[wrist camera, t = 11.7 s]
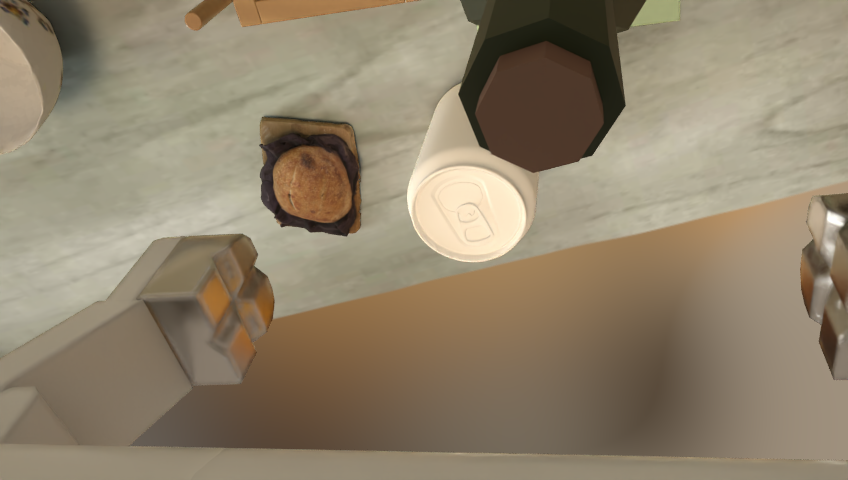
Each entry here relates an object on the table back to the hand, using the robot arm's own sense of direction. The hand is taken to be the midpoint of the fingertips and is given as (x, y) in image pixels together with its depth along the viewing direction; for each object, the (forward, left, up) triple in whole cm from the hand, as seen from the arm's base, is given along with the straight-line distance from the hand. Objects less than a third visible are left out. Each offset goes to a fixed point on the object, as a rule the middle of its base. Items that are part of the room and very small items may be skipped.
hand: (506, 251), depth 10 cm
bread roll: (+20, -22, -39) cm, 49 cm away
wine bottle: (0, 0, -35) cm, 35 cm away
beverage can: (+17, -7, -39) cm, 43 cm away
